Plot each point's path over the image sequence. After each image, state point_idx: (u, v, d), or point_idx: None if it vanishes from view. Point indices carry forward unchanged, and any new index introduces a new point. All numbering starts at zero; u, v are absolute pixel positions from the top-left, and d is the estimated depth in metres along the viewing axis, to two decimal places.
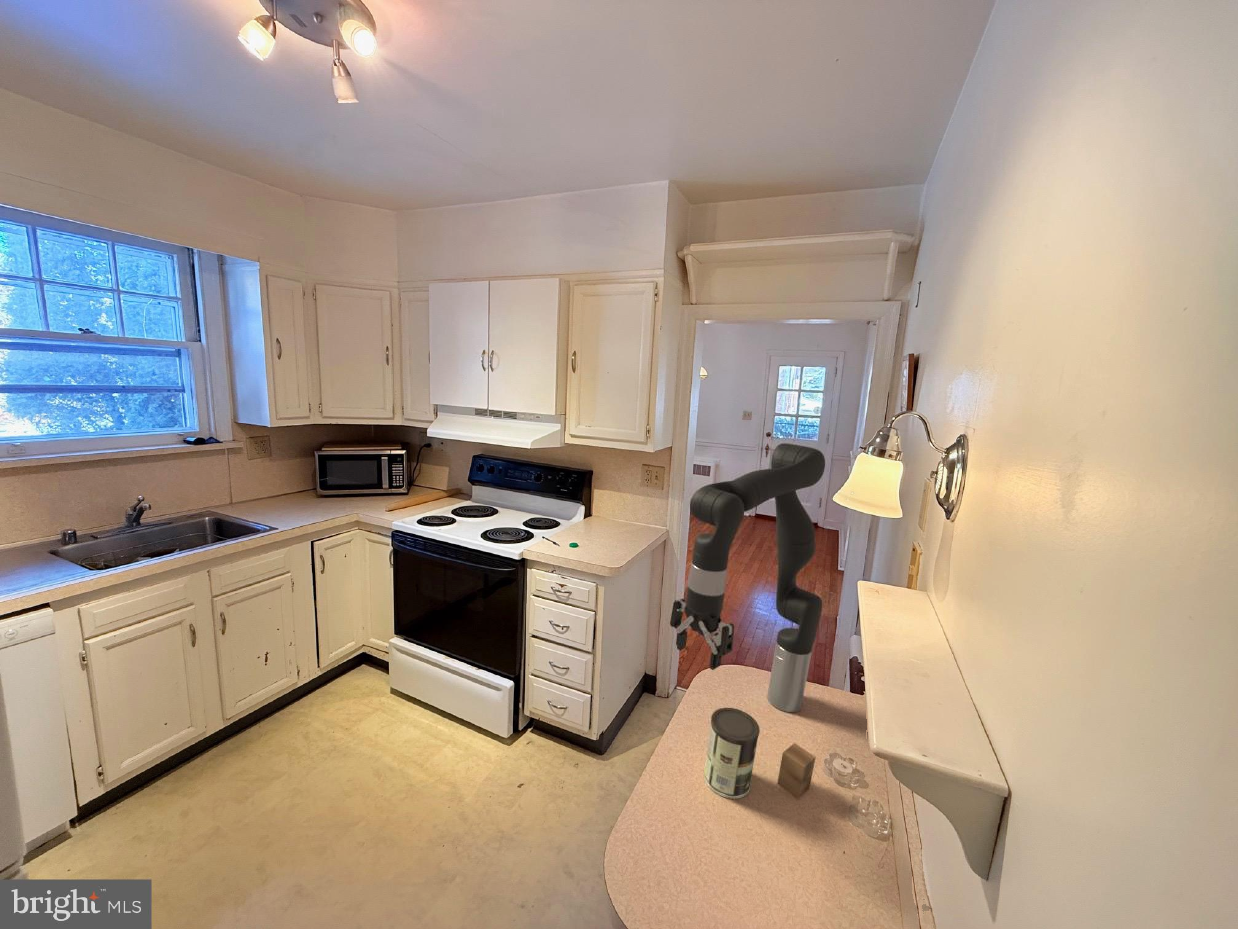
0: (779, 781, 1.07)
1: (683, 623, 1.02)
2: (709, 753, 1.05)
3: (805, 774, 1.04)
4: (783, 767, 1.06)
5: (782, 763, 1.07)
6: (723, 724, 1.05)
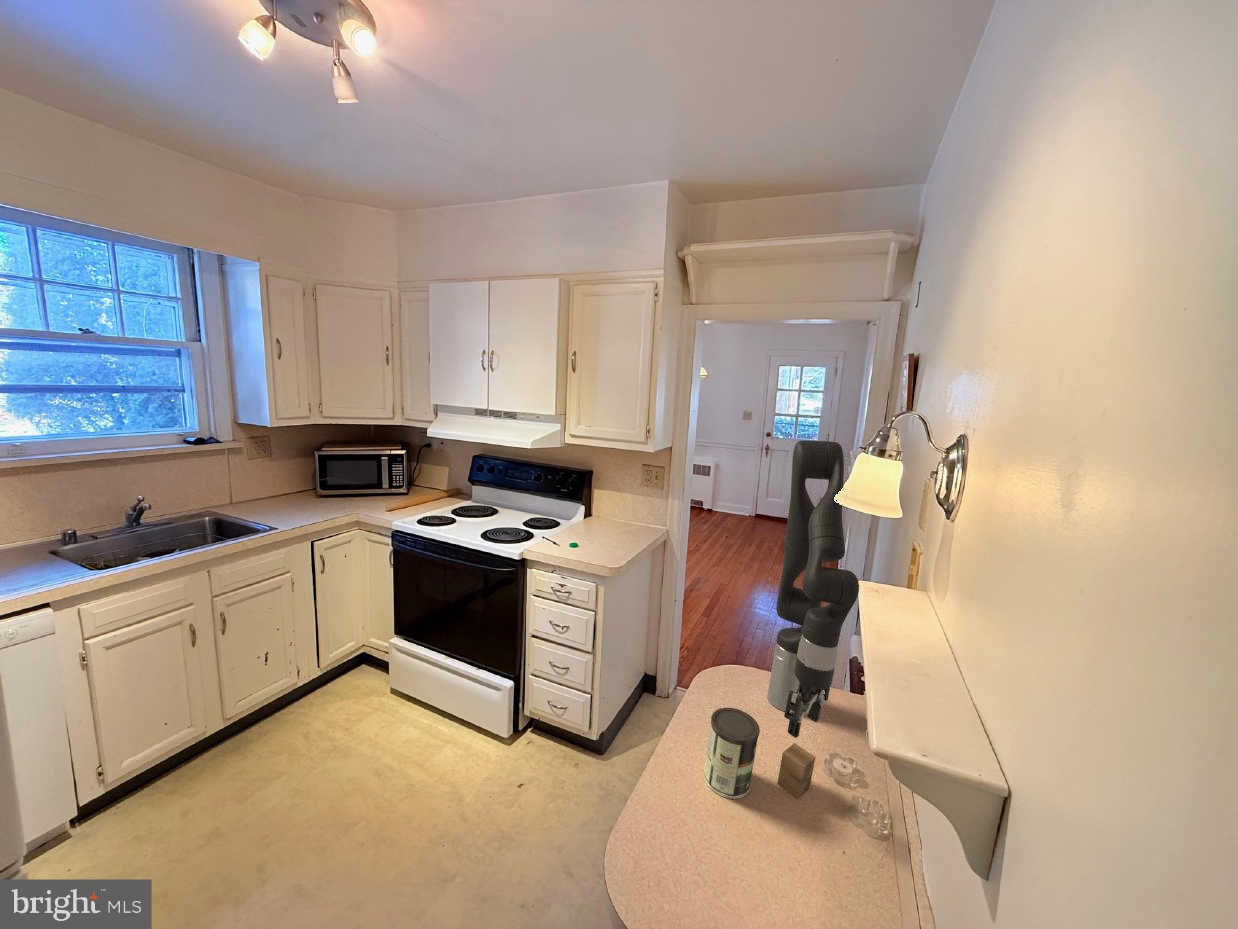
0: (779, 781, 1.07)
1: (808, 708, 1.00)
2: (709, 753, 1.05)
3: (805, 774, 1.04)
4: (783, 767, 1.06)
5: (782, 763, 1.07)
6: (723, 724, 1.05)
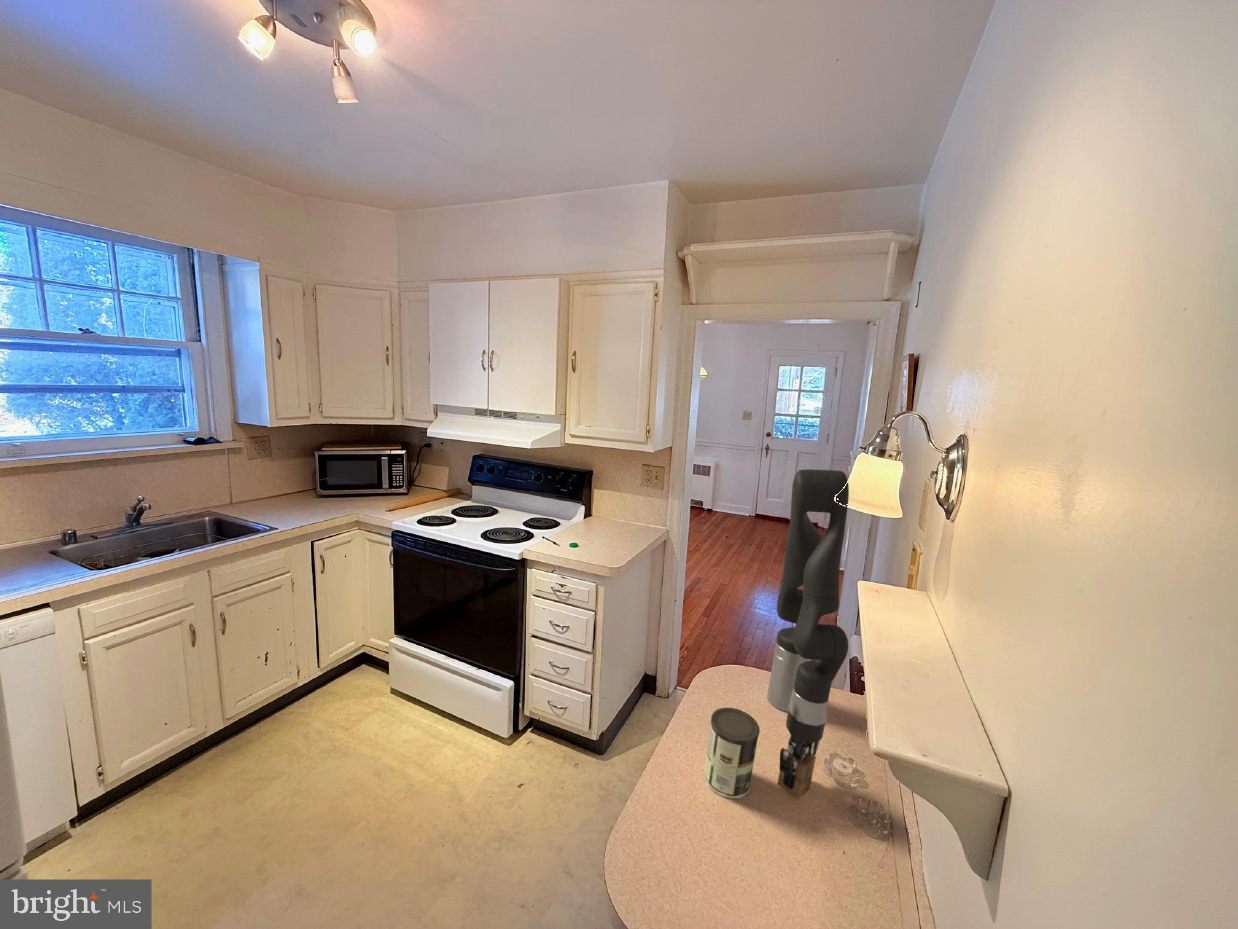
0: (779, 781, 1.07)
1: (801, 761, 1.03)
2: (709, 753, 1.05)
3: (805, 774, 1.04)
4: None
5: None
6: (723, 724, 1.05)
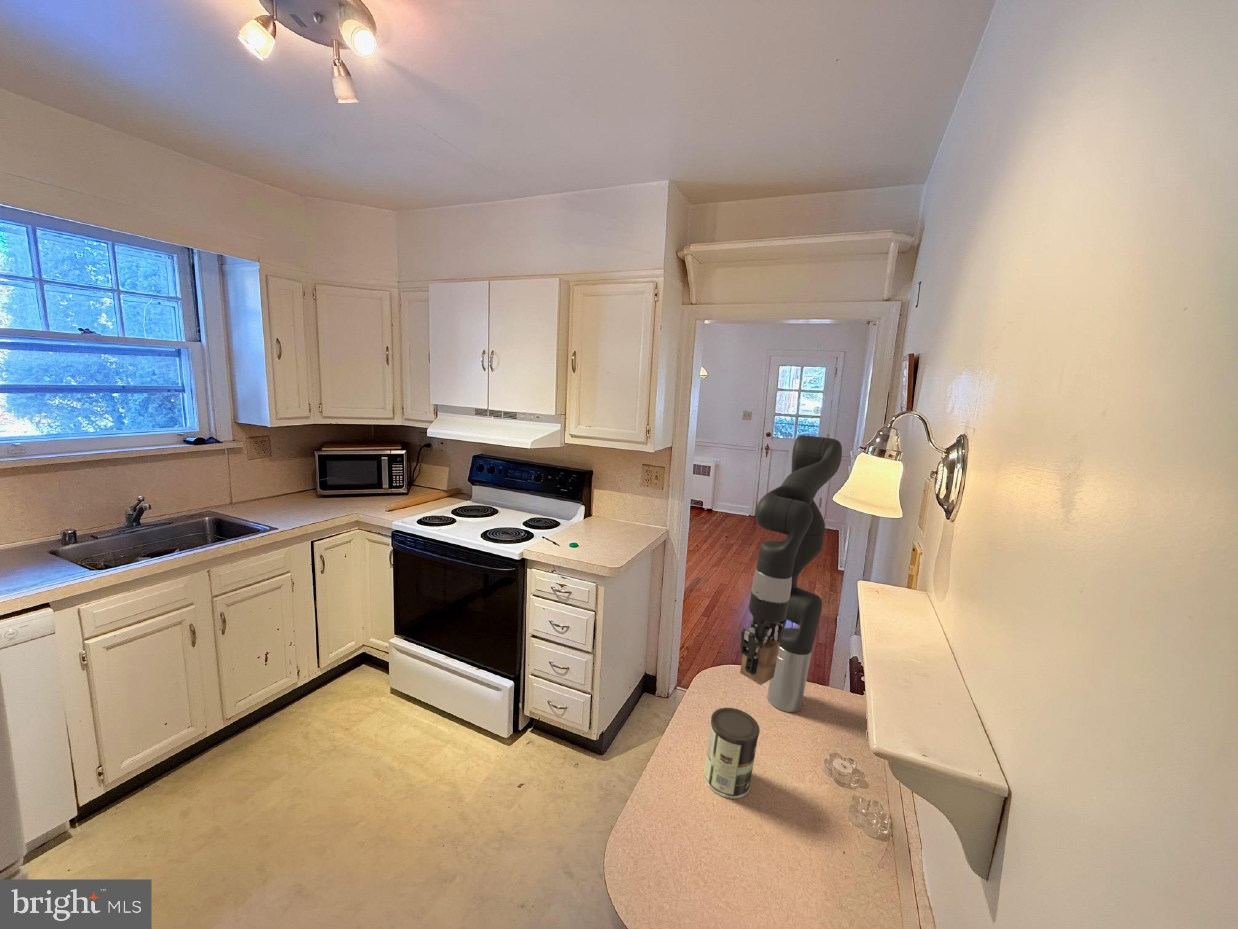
0: (742, 669, 1.02)
1: (763, 644, 0.98)
2: (709, 753, 1.05)
3: (768, 658, 0.99)
4: None
5: None
6: (723, 724, 1.05)
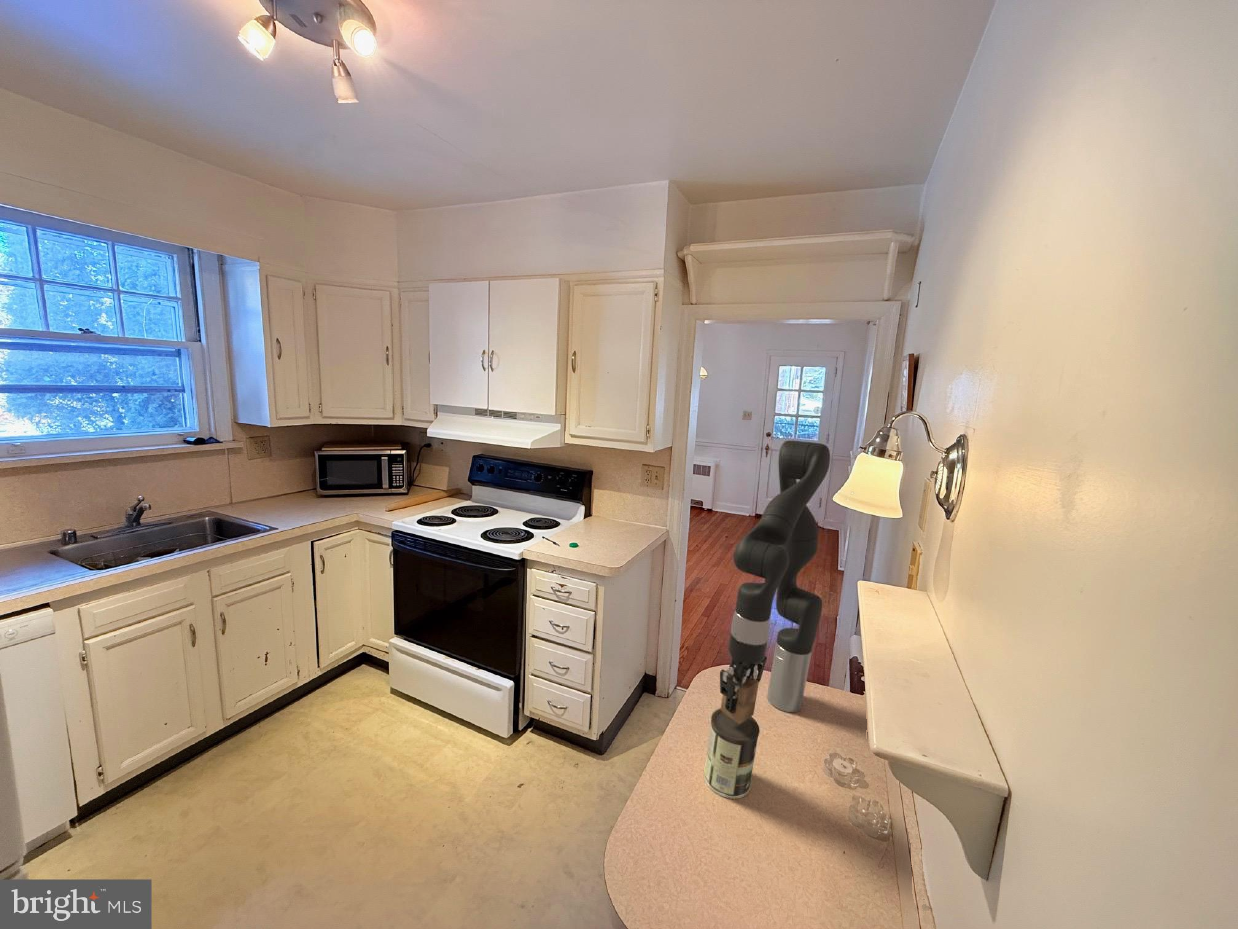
0: (722, 707, 1.04)
1: (742, 684, 1.00)
2: (709, 753, 1.05)
3: (746, 698, 1.01)
4: None
5: None
6: (723, 724, 1.05)
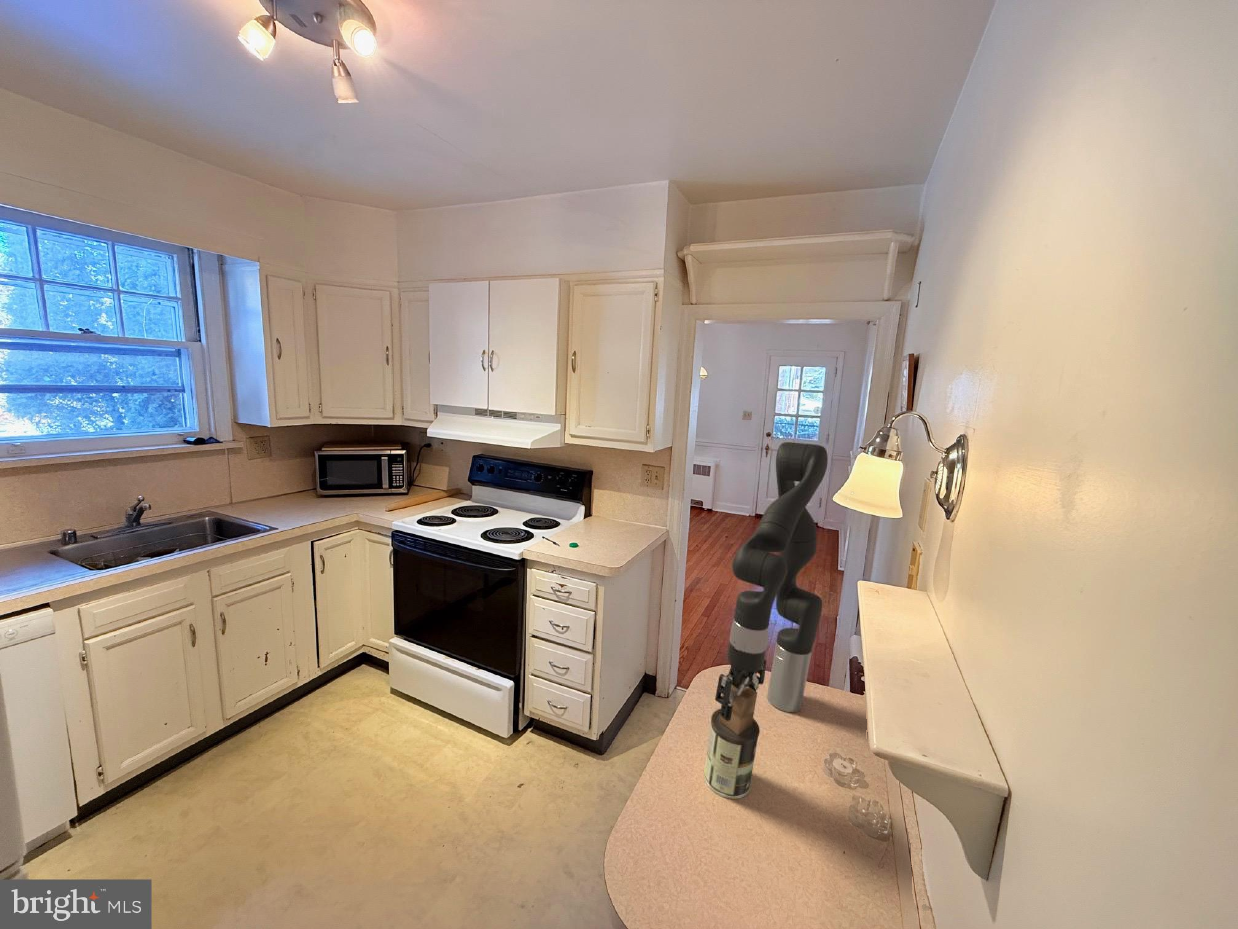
0: (721, 718, 1.05)
1: (739, 691, 1.00)
2: (709, 753, 1.05)
3: (745, 709, 1.01)
4: None
5: None
6: (723, 724, 1.05)
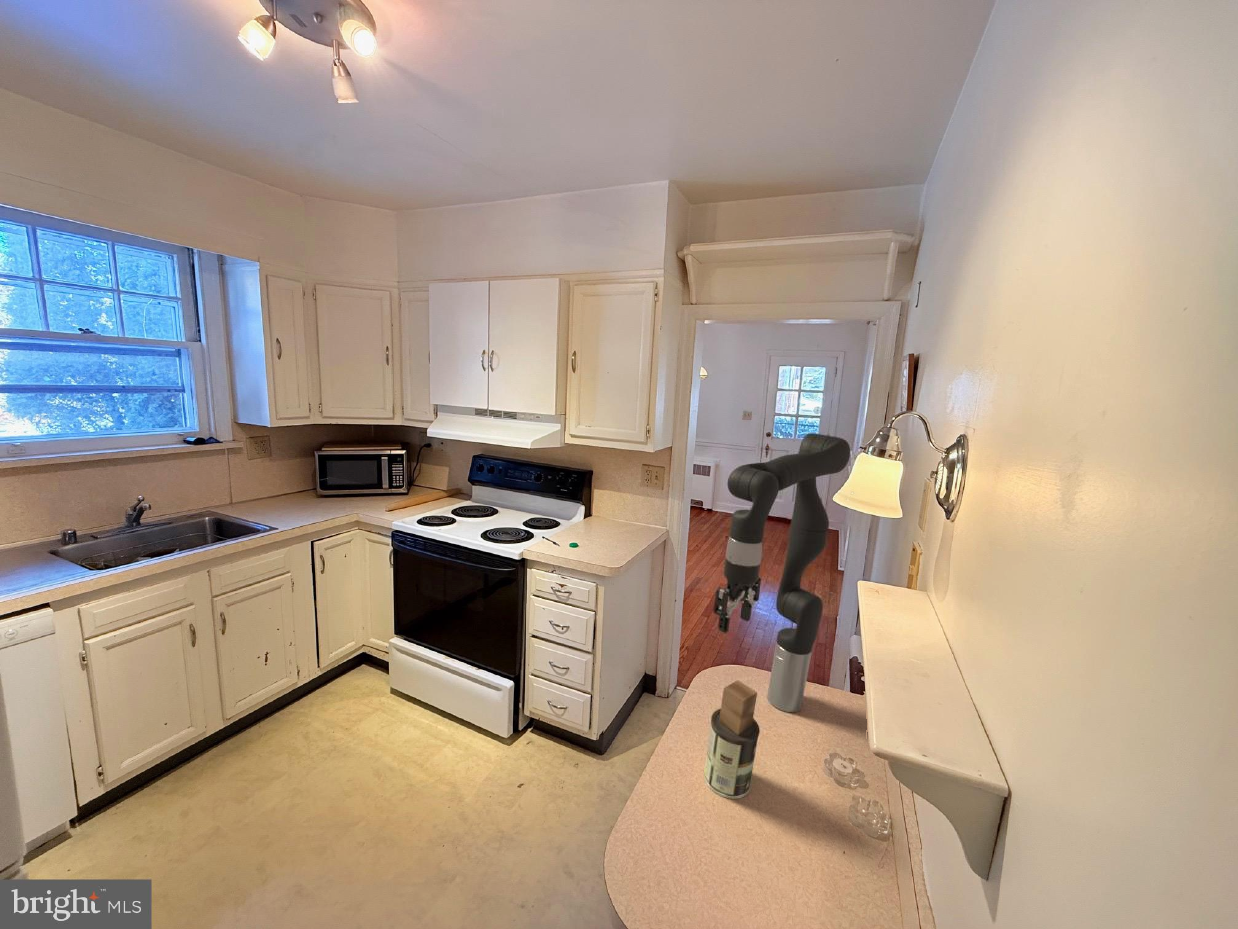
0: (721, 718, 1.05)
1: (735, 604, 1.05)
2: (709, 753, 1.05)
3: (745, 709, 1.01)
4: (724, 703, 1.04)
5: (723, 699, 1.04)
6: (723, 724, 1.05)
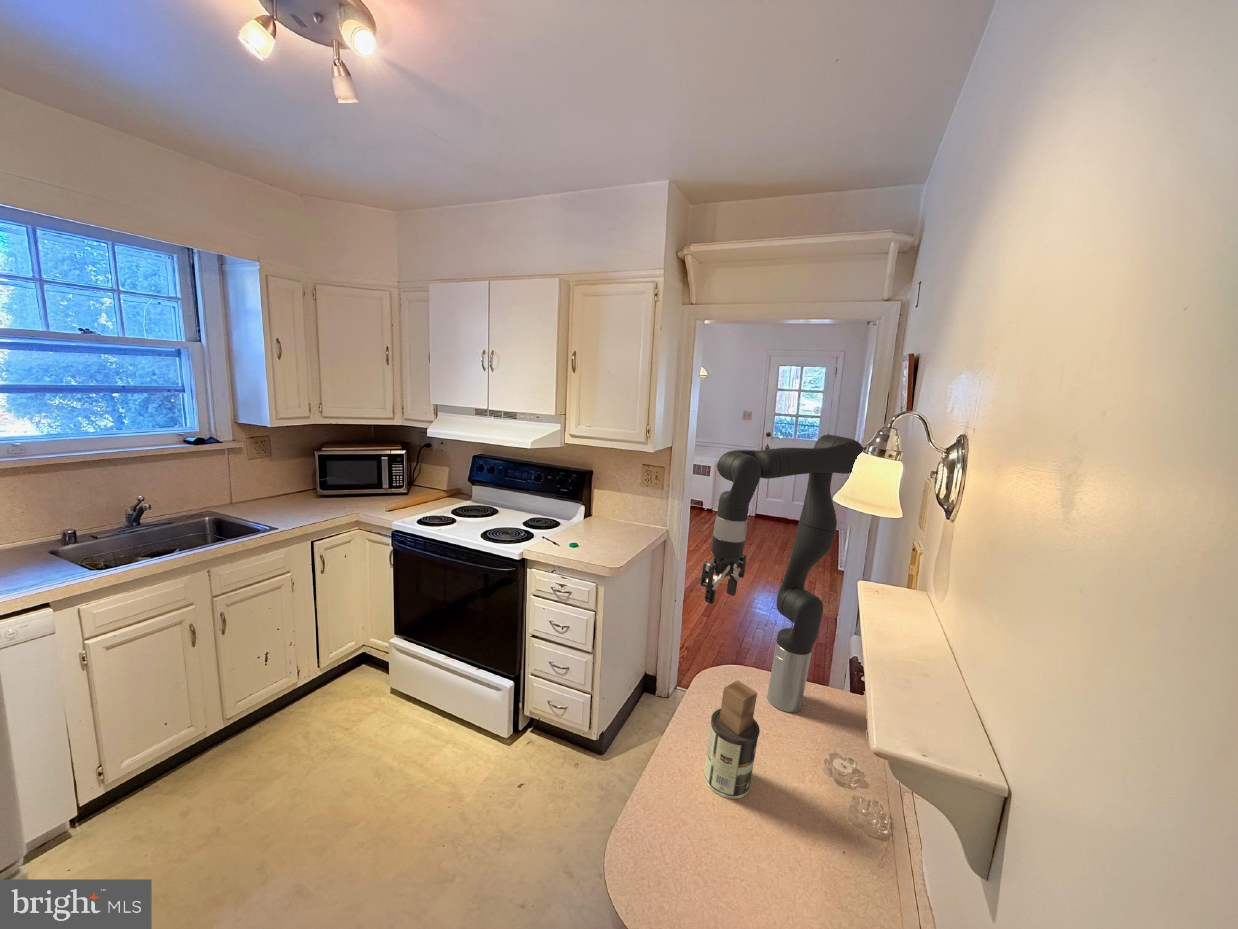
0: (721, 718, 1.05)
1: (721, 577, 1.14)
2: (709, 753, 1.05)
3: (745, 709, 1.01)
4: (724, 703, 1.04)
5: (723, 699, 1.04)
6: (723, 724, 1.05)
